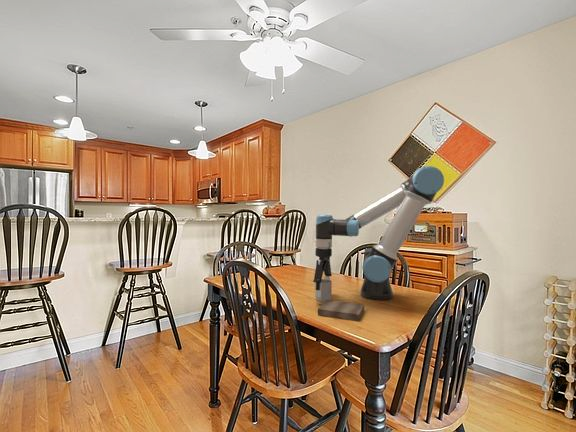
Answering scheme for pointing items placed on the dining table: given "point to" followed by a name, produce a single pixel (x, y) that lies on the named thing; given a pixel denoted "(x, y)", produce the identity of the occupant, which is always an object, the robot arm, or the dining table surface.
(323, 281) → the cup
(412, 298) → the dining table surface
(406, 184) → the robot arm
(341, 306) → the board
